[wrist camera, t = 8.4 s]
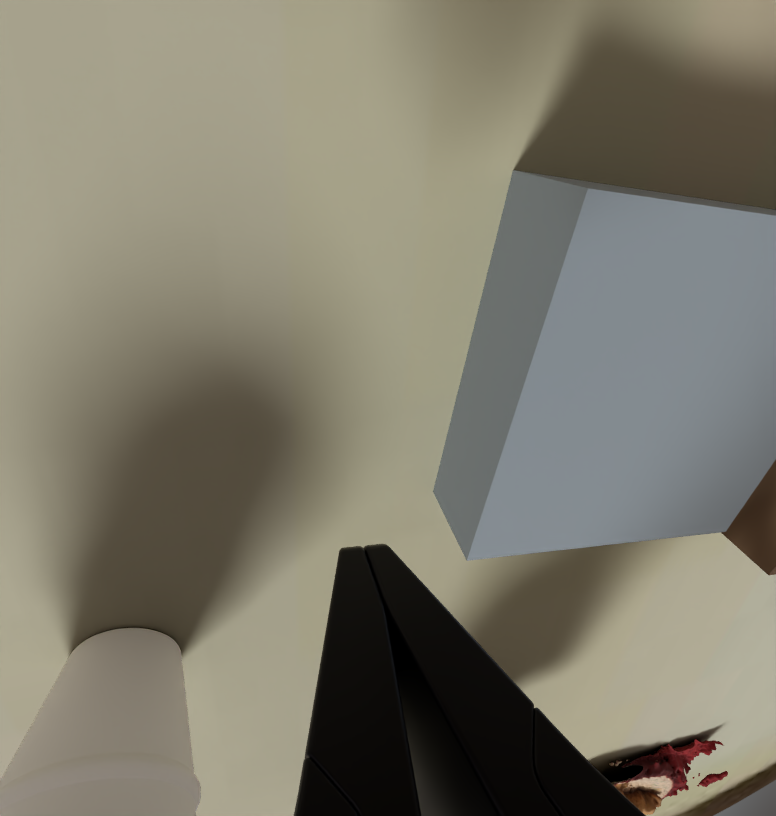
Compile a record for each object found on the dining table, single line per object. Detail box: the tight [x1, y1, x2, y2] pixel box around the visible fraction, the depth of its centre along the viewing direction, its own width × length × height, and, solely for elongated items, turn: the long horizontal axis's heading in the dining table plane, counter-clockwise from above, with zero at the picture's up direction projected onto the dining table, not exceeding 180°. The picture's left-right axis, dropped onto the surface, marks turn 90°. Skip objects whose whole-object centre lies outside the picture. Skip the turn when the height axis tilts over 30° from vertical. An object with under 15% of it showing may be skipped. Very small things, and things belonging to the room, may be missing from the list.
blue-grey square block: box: [433, 170, 776, 561], centre depth 17 cm, size 12×12×4 cm
